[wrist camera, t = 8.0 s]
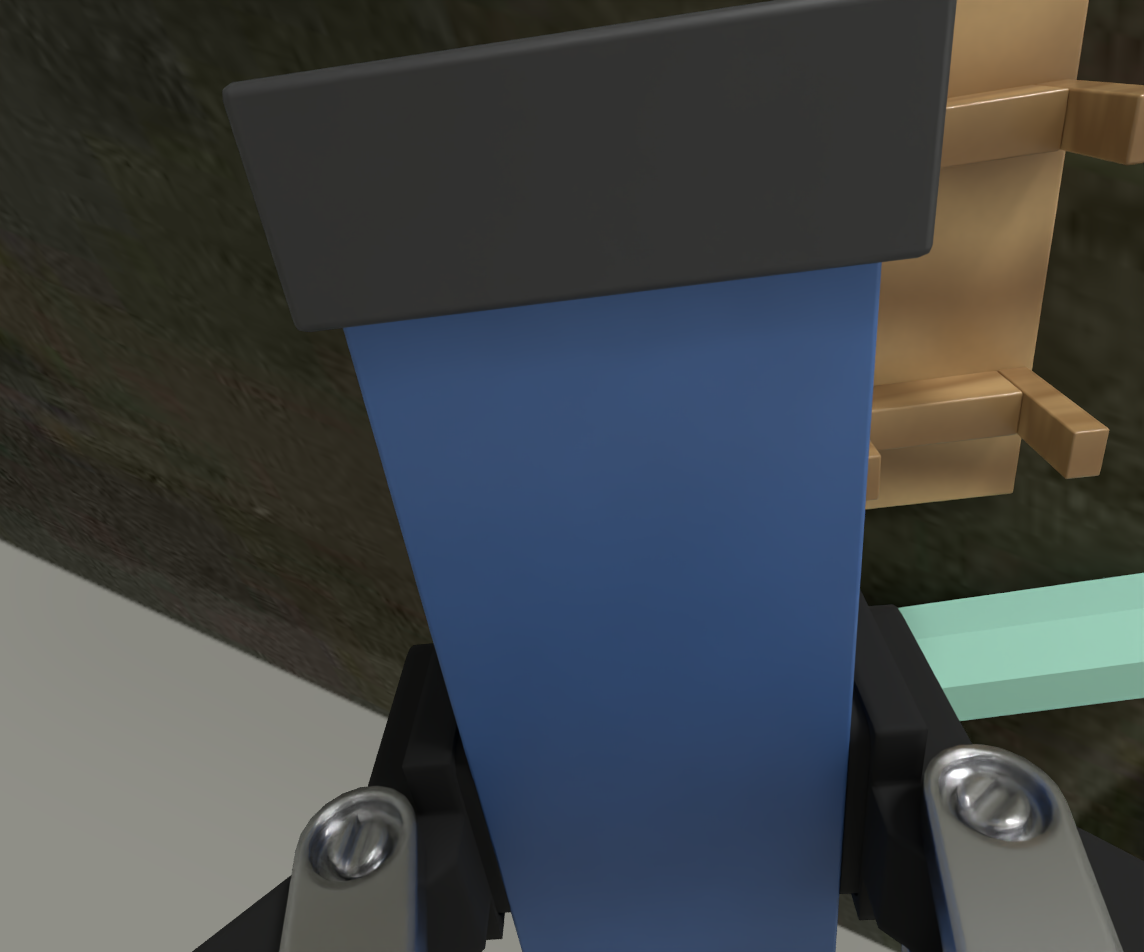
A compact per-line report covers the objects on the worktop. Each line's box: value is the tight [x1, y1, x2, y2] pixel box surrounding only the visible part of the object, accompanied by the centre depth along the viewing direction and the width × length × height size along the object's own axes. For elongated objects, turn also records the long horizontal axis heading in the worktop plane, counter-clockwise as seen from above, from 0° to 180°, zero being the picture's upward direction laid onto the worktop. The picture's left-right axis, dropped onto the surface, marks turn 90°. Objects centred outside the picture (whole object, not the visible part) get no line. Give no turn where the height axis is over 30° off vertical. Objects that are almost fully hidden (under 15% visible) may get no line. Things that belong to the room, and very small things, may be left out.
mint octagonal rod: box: [898, 573, 1144, 721], centre depth 32 cm, size 6×6×25 cm
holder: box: [865, 0, 1144, 509], centre depth 24 cm, size 18×8×6 cm, turn 8°
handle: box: [223, 0, 957, 952], centre depth 10 cm, size 16×4×4 cm, turn 7°
